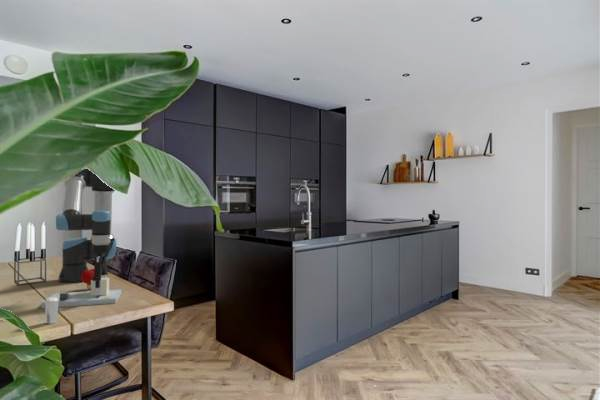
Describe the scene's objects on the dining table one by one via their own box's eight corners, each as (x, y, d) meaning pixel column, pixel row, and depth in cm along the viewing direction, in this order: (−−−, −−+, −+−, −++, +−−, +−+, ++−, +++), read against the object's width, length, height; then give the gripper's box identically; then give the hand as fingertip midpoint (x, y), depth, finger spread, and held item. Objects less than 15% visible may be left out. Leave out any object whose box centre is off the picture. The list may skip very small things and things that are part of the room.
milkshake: (55, 324, 130) (55, 297, 130) (40, 324, 131) (41, 296, 131) (64, 320, 135) (64, 294, 135) (50, 320, 135) (50, 293, 135)
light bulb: (88, 292, 176) (88, 271, 176) (76, 291, 178) (76, 271, 178) (102, 287, 186) (102, 268, 186) (90, 286, 187) (91, 267, 187)
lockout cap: (93, 292, 168) (94, 277, 168) (109, 291, 170) (109, 277, 170) (90, 296, 162) (91, 280, 162) (106, 294, 164) (106, 280, 164)
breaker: (61, 298, 157) (61, 291, 157) (68, 297, 158) (68, 290, 158) (59, 299, 155) (59, 292, 155) (66, 299, 155) (66, 292, 155)
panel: (53, 297, 165) (54, 293, 165) (121, 293, 175) (121, 289, 175) (40, 308, 149) (40, 303, 149) (115, 303, 159) (115, 298, 159)
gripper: (96, 241, 176) (96, 286, 176) (85, 247, 154) (85, 298, 154) (114, 241, 178) (113, 285, 178) (105, 246, 157) (104, 297, 156)
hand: (100, 291), depth 166 cm, fingers open, 10 cm apart
